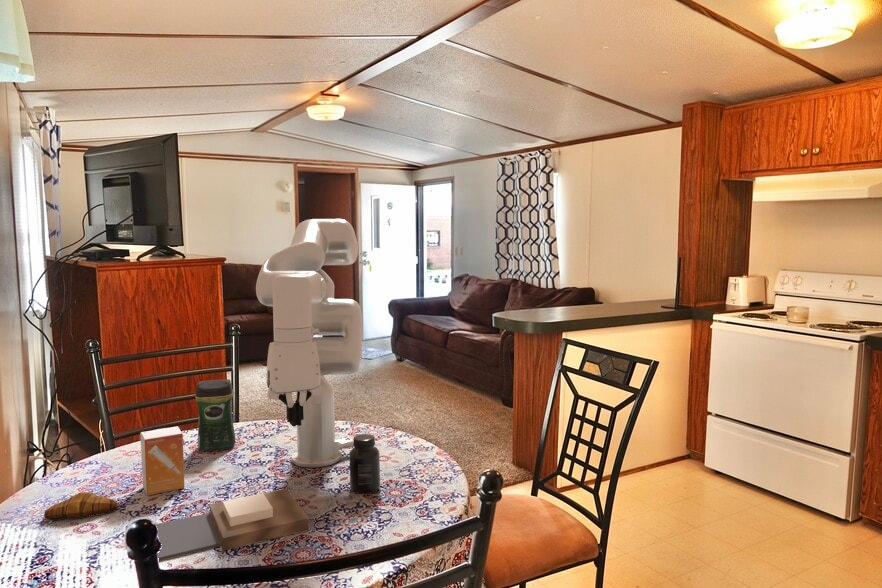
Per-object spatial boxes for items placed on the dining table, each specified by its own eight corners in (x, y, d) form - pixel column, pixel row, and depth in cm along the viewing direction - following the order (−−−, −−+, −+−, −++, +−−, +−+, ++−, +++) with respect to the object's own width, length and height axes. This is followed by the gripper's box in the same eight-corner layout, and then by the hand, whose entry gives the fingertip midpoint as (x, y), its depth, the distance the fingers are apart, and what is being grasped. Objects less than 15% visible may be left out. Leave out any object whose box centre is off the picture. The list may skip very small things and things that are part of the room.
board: (287, 499, 133) (287, 488, 132) (309, 529, 119) (308, 518, 118) (209, 515, 125) (209, 504, 125) (223, 550, 111) (223, 538, 111)
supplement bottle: (385, 485, 140) (385, 434, 139) (370, 496, 134) (369, 444, 133) (360, 480, 143) (359, 430, 142) (343, 491, 137) (343, 439, 135)
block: (263, 501, 126) (263, 493, 126) (272, 516, 119) (272, 508, 119) (223, 509, 122) (222, 501, 122) (230, 526, 115) (230, 517, 115)
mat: (215, 514, 125) (214, 511, 125) (227, 544, 113) (227, 541, 113) (150, 528, 119) (150, 525, 119) (156, 561, 107) (156, 558, 107)
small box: (146, 496, 134) (143, 439, 133) (142, 486, 139) (139, 431, 138) (185, 488, 138) (183, 432, 137) (180, 479, 144) (177, 425, 142)
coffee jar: (236, 440, 170) (233, 375, 168) (234, 450, 163) (232, 382, 161) (199, 444, 168) (196, 378, 166) (196, 453, 160) (193, 384, 158)
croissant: (121, 504, 131) (120, 482, 130) (114, 518, 124) (113, 494, 124) (50, 512, 127) (48, 489, 127) (39, 527, 121) (37, 503, 120)
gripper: (323, 330, 129) (324, 414, 131) (250, 335, 122) (253, 425, 123) (335, 335, 122) (336, 423, 124) (259, 341, 115) (262, 435, 117)
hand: (295, 424), depth 124 cm, fingers closed
